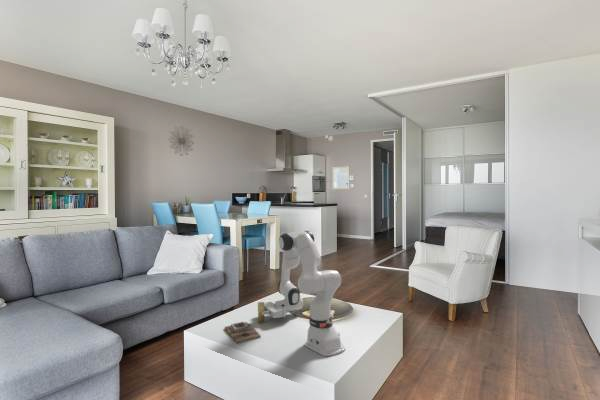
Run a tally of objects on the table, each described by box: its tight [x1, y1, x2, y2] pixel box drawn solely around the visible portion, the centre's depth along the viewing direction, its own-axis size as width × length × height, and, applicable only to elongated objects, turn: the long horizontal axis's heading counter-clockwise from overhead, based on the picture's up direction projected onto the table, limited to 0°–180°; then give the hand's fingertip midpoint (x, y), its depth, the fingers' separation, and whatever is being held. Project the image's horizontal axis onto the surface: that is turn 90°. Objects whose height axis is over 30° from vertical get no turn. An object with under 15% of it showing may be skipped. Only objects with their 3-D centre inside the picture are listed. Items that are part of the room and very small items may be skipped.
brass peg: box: [257, 301, 265, 324], centre depth 212 cm, size 4×4×12 cm
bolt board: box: [224, 321, 261, 344], centre depth 197 cm, size 22×14×3 cm, turn 30°
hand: (259, 311), depth 212 cm, fingers closed on brass peg, 4 cm apart
